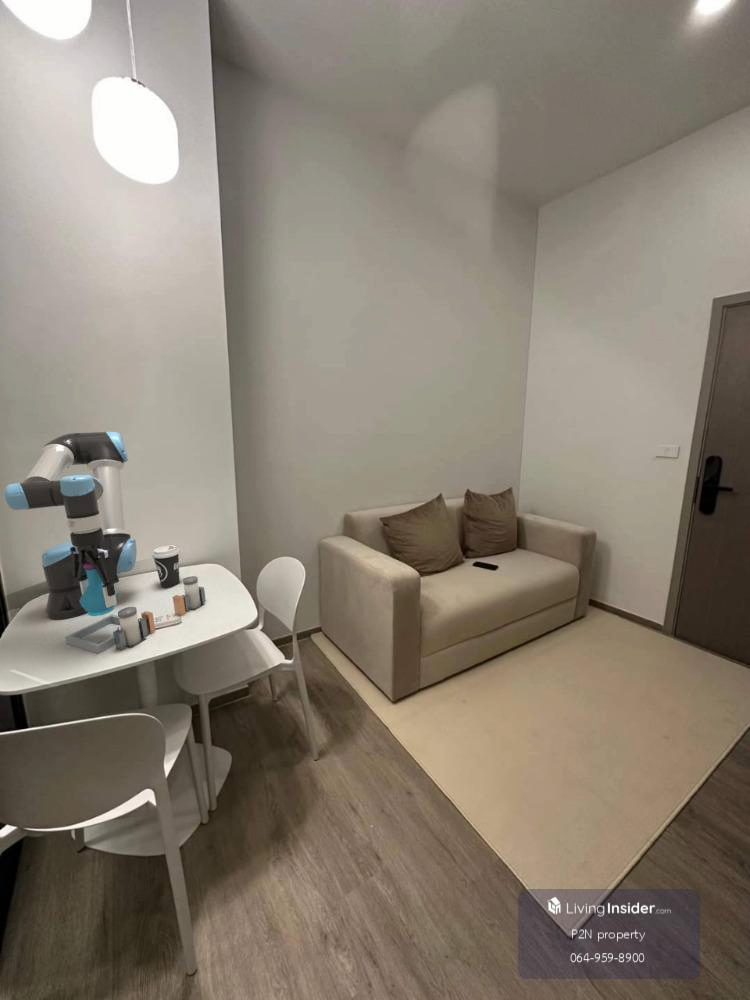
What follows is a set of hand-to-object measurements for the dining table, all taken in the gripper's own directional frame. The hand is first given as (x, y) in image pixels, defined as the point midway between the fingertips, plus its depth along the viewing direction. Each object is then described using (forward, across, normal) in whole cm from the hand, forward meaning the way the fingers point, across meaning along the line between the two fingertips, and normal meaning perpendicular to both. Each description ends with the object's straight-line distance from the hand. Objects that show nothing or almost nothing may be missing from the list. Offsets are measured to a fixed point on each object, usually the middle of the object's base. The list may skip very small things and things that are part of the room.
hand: (100, 602), depth 117 cm
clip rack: (+12, +10, +12) cm, 20 cm away
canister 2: (+11, +10, +24) cm, 28 cm away
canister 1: (+11, +10, +1) cm, 15 cm away
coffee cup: (+12, -14, +35) cm, 39 cm away
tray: (+12, 0, 0) cm, 12 cm away
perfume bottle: (+3, 0, 0) cm, 3 cm away
